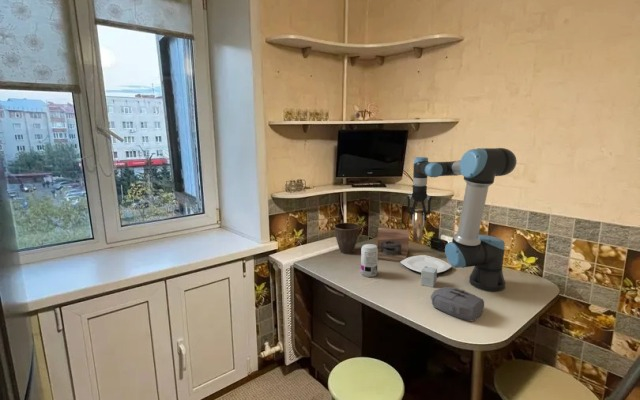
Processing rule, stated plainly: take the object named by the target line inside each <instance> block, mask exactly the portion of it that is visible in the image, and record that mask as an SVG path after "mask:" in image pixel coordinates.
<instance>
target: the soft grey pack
mask: <svg viewBox="0 0 640 400" xmlns="http://www.w3.org/2000/svg"><path fill="white" fill-rule="evenodd" d="M430 300H431V304H432V305H433V306H432V307H433V308H436V309H438V310H439V311H441V312H442V313H445V314H447V315H449V316H450V317H451V316H452V317H455V318H458V319H460V320H464V321H467V322H468V321H469V322H475V321H476V320H477V319H479V318H480V317H481V315H482V313H483V312H484V308H485V301H484V299H483V298H481V297H479V296H477V295H475V294H473V293H471V292H468V291H466V290H464V289H460V288H456V287H448V286H443V287H441V288H438V289H435V290H434V291H433V292H432V293H431V295H430Z"/></svg>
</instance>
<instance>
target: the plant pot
mask: <svg viewBox="0 0 640 400" xmlns="http://www.w3.org/2000/svg"><path fill="white" fill-rule="evenodd" d="M333 227H334V233H335V239H336V244H337V246H338V249H339V251H340V253H342V254H352V253H353V252H354V249H355V246H356V243H357V241H358V238H359V232H360V225H359V224H356V223H352V222H339V223H336V224H334V225H333Z"/></svg>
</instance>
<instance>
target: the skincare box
mask: <svg viewBox="0 0 640 400" xmlns="http://www.w3.org/2000/svg"><path fill="white" fill-rule="evenodd" d="M437 276H438V273H437V269H436V268H431V267H426V266H425V267H424V268H423V269H422V270H421V273H420V285H421V286H425V287H430V288H434V287H435V285H436V284H437V280H438V279H437V278H438V277H437Z"/></svg>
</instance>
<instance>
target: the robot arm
mask: <svg viewBox="0 0 640 400" xmlns="http://www.w3.org/2000/svg"><path fill="white" fill-rule="evenodd" d="M516 165H517V157H516V155H515V153H514V152H512V151H511V150H510V149H509V148H505V147H504V148H503V147H496V148H493V147H492V148H491V147H490V148H487V147H486V148H483V147H481V148H479V147H478V148H472V149H469V150H467V151H466V152H465V153H464V154H463V155H462V157H461V159H460V160H454V161H429V158H428V157H425V156H417V157H416V156H415V157H414V159H413V172H412V175H413V176H412V193H411V194H408V195H407V196H406V199H407V211H406V212H407V214H410V218H409V219H410V221H412V222H411V223H412V224H411V226H412V227H414V209H416V204H417V202H420V203H421V205H422V209H423V210H424V212H423V226H422V227H424V226H425V222H427V220H428V219H427V218H428V217H427V216H428V215H430V214H431V205H432V203H431V201H432V199H433V196H431V195H428V193H427V192H428V191H427V189H428V186H427V184H428V177H430V178H439V177H448V176H449V177H450V176H451V177H452V176H453V177H454V176H463V180H464V182H465V184H466V185H465V189H464V196H463V200H462V201H463V202H462V206H461V212H460V215H459V217H460V218H459V223H458V228H457V233H455V234H454V235H452V241H449V242H447V243H446V244H445V248H444V255H445V257H446V260H447V261H448V264H450V265H451V266H452V267H454V268H461V269H462V268H463V269H464V268H470V267H473V268H472V271H471V273H470V275H469V280H468V281H469V284H470V285H471V286H473V287H475V288H477V289H479V290H481V291H485V292H486V291H488V292H500V291H503V290H504V289H505V286H506V281H505V277H504V274H503V265H504V257H505V250H506V249H505V241H504V240H503V239H502V238H499V237H495V236H492V235H487V234H480V230H481V229H480V228H481V225H482V221H483V215H484V211H485V207H486V206H485V205H486V201H487V195H488V191H489V187H490V186H492V185H493V184H494V183H495V178H496V177H503V176H506V175H509V174H510V173H512V172H513V171H515V170H514V169H515V168H516ZM411 199H413V200H414V201H413V204H412V207H411ZM426 199H427V200H428V201H427V208H426V204H425V203H426V202H425V200H426Z"/></svg>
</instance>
